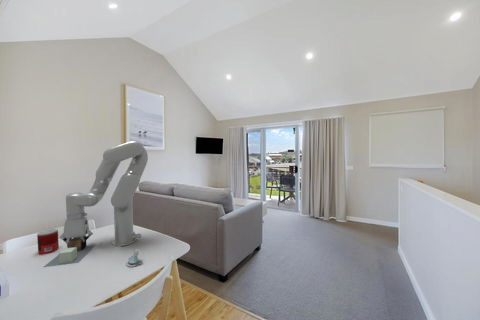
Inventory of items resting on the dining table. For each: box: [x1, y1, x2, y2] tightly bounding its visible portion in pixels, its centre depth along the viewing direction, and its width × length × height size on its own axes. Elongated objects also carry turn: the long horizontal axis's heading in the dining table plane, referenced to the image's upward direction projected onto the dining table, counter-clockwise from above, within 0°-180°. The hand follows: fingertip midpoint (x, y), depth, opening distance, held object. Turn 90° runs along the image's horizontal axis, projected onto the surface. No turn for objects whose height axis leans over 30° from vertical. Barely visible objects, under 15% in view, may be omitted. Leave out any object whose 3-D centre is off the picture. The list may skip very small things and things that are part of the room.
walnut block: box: [68, 237, 82, 251], centre depth 108 cm, size 6×6×6 cm
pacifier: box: [125, 249, 143, 268], centre depth 94 cm, size 7×6×6 cm
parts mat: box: [43, 243, 98, 268], centre depth 103 cm, size 14×20×1 cm
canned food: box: [36, 228, 60, 255], centre depth 107 cm, size 8×8×11 cm
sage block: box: [58, 247, 77, 264], centre depth 97 cm, size 5×5×5 cm
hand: (77, 248), depth 108 cm, fingers closed on walnut block, 5 cm apart
